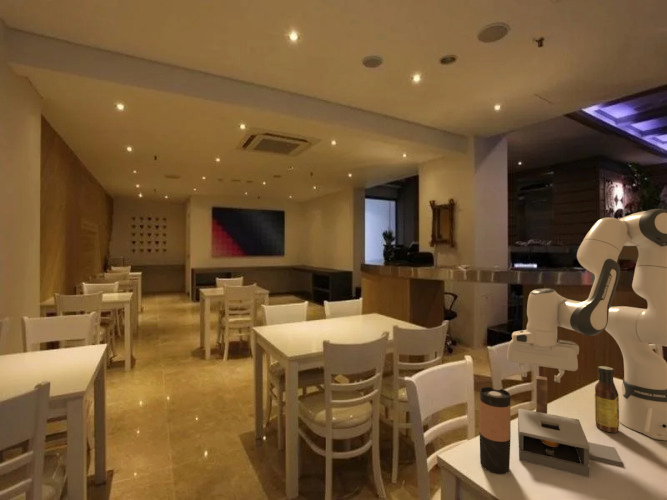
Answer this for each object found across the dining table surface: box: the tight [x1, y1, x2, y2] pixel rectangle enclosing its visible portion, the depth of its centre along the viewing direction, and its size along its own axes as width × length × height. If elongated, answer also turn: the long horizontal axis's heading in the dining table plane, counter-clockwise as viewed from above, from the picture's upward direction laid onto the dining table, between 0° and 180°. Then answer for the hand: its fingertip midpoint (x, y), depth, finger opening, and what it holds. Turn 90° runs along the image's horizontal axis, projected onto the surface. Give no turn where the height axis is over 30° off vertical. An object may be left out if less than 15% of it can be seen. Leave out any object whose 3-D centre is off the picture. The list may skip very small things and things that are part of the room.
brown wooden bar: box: [535, 375, 548, 414], centre depth 116 cm, size 3×3×16 cm
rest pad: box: [588, 441, 623, 467], centre depth 100 cm, size 8×8×1 cm
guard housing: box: [517, 408, 591, 478], centre depth 101 cm, size 16×16×8 cm
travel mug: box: [478, 386, 512, 475], centre depth 95 cm, size 8×8×20 cm
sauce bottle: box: [594, 365, 620, 433], centre depth 115 cm, size 7×6×20 cm
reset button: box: [540, 439, 560, 448], centre depth 101 cm, size 4×4×2 cm
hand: (540, 379), depth 116 cm, fingers open, 8 cm apart
